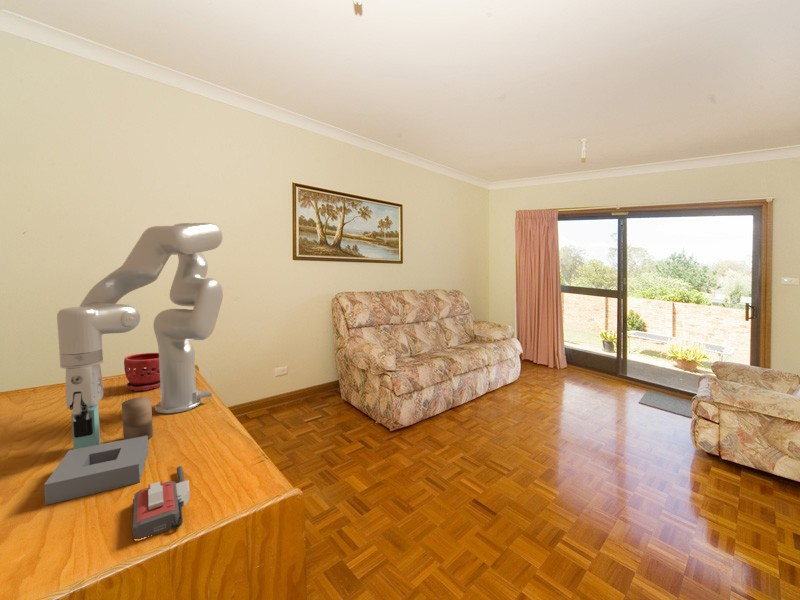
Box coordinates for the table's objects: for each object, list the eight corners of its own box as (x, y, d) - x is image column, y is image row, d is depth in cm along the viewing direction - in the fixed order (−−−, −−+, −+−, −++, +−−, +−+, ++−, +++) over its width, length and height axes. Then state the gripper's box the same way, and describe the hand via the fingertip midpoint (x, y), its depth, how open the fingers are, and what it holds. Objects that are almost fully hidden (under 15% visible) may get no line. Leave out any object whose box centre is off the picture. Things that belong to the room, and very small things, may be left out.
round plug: (154, 431, 92) (152, 395, 91) (151, 440, 87) (149, 403, 86) (126, 436, 89) (124, 399, 88) (121, 446, 84) (119, 407, 83)
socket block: (148, 451, 82) (147, 435, 82) (139, 482, 70) (138, 463, 70) (70, 467, 75) (69, 450, 74) (45, 505, 63) (44, 484, 62)
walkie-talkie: (195, 526, 59) (185, 471, 75) (194, 502, 58) (184, 452, 74) (131, 551, 53) (135, 486, 69) (129, 524, 53) (133, 465, 69)
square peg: (100, 442, 86) (98, 404, 85) (96, 449, 82) (93, 409, 82) (79, 446, 84) (76, 407, 83) (74, 453, 80) (71, 413, 79)
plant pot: (145, 394, 119) (143, 361, 118) (116, 391, 122) (114, 358, 121) (177, 383, 132) (176, 352, 131) (150, 380, 135) (149, 350, 134)
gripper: (93, 364, 76) (97, 443, 77) (110, 349, 90) (113, 416, 92) (46, 369, 72) (52, 451, 74) (72, 352, 86) (76, 422, 88)
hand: (86, 431), depth 83 cm, fingers closed on square peg, 4 cm apart
